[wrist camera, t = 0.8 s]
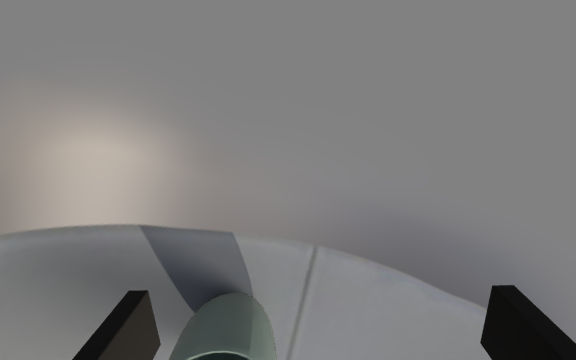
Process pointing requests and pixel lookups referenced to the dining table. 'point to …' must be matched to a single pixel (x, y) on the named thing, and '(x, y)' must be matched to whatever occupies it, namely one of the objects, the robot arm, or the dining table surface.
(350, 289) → the dining table surface
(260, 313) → the cup
